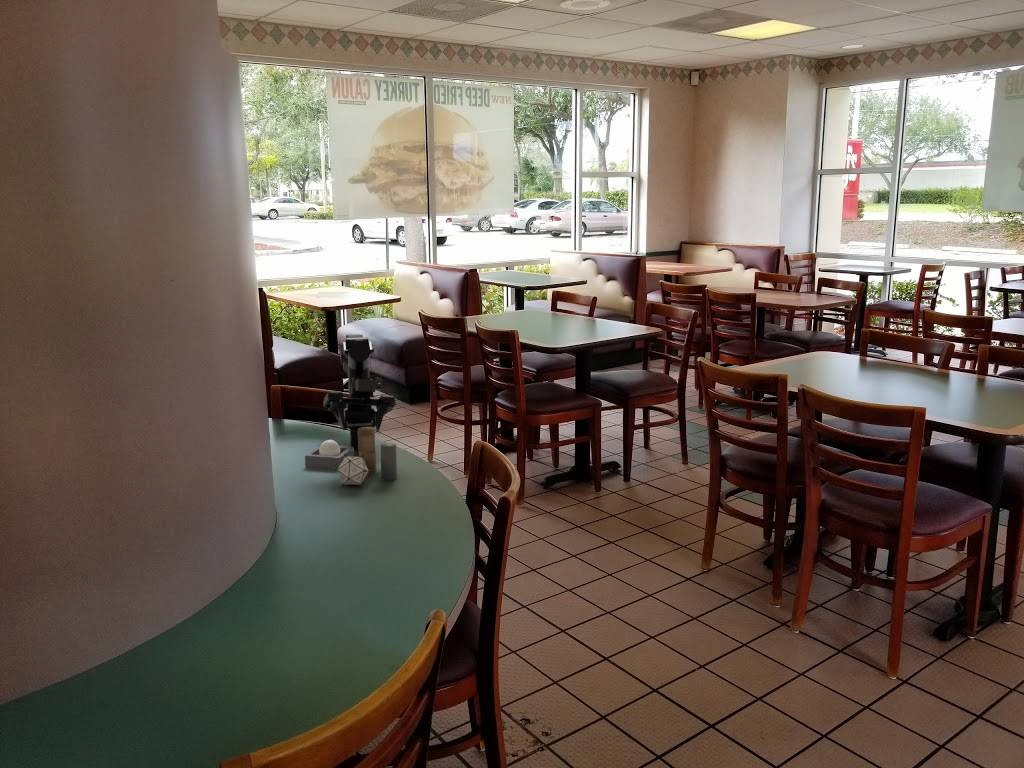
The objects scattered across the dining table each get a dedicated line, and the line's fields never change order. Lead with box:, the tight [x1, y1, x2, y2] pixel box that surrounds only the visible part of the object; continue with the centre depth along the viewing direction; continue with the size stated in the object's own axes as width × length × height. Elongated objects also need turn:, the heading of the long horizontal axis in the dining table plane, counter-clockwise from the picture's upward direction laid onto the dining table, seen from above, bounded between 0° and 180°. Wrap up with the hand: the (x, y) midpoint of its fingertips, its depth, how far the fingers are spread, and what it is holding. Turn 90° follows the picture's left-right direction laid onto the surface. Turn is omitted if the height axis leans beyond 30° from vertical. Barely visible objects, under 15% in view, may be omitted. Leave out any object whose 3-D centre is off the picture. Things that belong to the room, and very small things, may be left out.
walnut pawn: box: [357, 427, 377, 476], centre depth 218 cm, size 4×4×12 cm
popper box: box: [304, 444, 355, 470], centre depth 227 cm, size 10×10×3 cm
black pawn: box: [380, 442, 398, 481], centre depth 215 cm, size 4×4×9 cm
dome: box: [319, 439, 340, 456], centre depth 227 cm, size 6×6×6 cm
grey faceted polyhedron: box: [333, 454, 372, 488], centre depth 209 cm, size 9×8×10 cm
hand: (361, 430), depth 222 cm, fingers open, 9 cm apart
